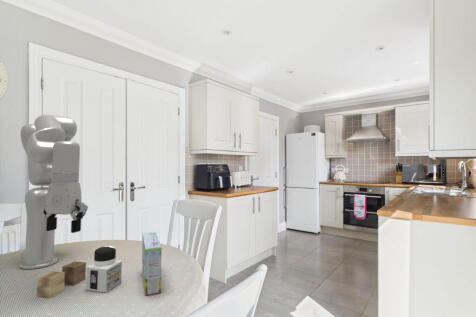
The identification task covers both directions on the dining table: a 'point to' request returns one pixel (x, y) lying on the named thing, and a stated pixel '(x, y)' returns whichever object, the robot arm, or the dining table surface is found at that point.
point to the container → (104, 270)
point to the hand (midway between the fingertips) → (63, 231)
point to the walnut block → (74, 272)
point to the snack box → (151, 263)
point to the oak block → (50, 284)
